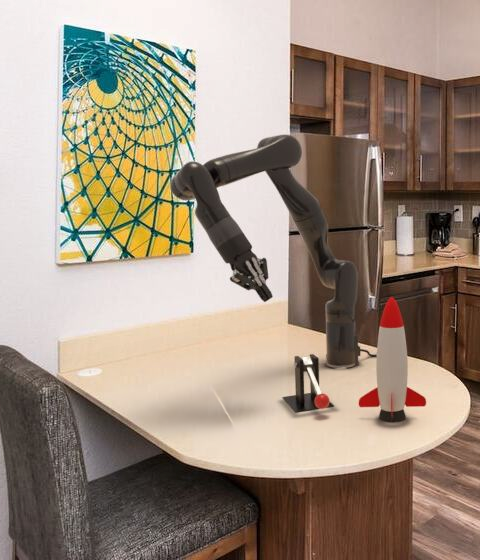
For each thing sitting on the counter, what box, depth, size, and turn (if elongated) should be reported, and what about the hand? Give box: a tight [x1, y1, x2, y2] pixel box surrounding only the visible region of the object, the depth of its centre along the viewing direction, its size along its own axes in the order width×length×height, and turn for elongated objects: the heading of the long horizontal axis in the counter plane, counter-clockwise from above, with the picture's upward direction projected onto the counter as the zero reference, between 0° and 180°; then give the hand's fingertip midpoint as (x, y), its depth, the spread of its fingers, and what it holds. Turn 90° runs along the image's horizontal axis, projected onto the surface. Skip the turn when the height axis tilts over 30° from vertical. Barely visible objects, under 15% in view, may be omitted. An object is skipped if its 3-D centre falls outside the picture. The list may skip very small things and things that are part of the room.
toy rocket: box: [358, 296, 427, 424], centre depth 147 cm, size 11×11×30 cm
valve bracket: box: [282, 353, 335, 414], centre depth 157 cm, size 12×10×13 cm
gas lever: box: [300, 355, 331, 410], centre depth 152 cm, size 16×4×4 cm
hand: (268, 299), depth 150 cm, fingers closed
